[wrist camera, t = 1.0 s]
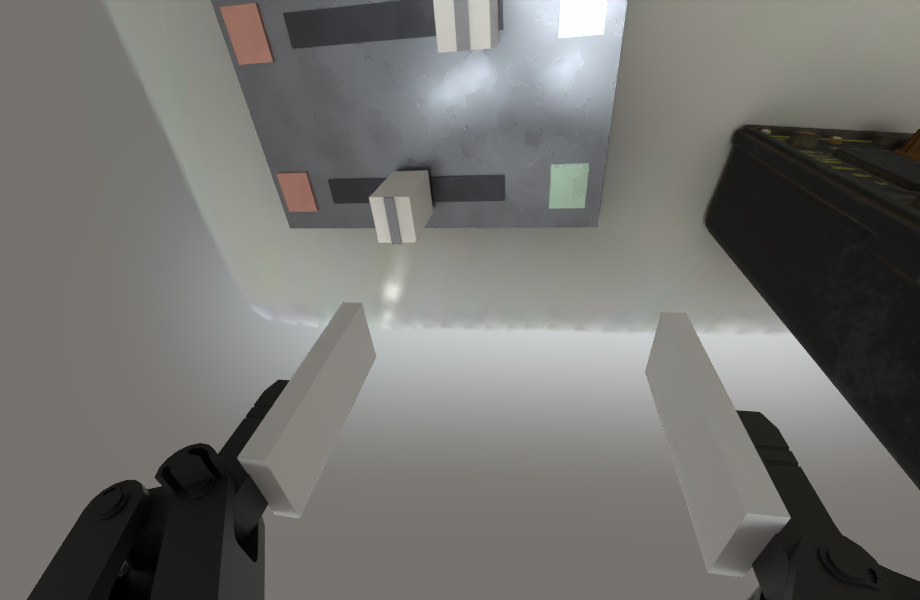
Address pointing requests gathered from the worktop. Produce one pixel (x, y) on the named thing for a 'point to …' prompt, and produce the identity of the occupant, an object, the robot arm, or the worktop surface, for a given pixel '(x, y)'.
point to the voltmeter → (836, 260)
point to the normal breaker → (466, 24)
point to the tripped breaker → (402, 206)
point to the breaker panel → (430, 107)
